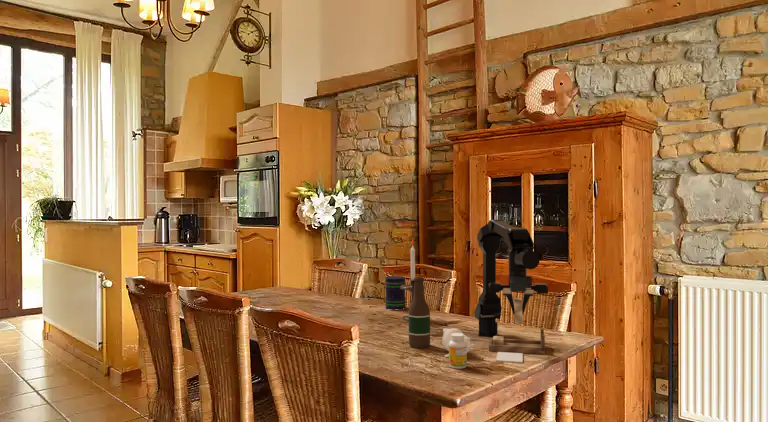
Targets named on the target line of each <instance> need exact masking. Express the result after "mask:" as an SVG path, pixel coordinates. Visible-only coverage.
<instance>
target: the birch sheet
mask: <svg viewBox="0 0 768 422" xmlns="http://www.w3.org/2000/svg"><path fill="white" fill-rule="evenodd" d="M513 302H514V309H515V314H514V324H516V325H518V324H519V325H523V324H524V323H523V315H522V304H523V297H522V298H520V297H518V298H517V297H513Z"/></svg>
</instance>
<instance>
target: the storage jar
mask: <svg viewBox="0 0 768 422" xmlns="http://www.w3.org/2000/svg"><path fill="white" fill-rule="evenodd" d="M384 279H385V280H384V289H385V298H384V303H385V308H386V309H385V310H387V309H403V308H406V305H407V304H406V302H407V301H406V300H407V298H406V290H403V289H401V288H400V286H401V285H407V283H406V277H405V276H402V275H401V276H400V275H398V276H397V275H391V276H390V275H389V276H385V278H384Z"/></svg>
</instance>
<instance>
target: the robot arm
mask: <svg viewBox="0 0 768 422" xmlns="http://www.w3.org/2000/svg"><path fill="white" fill-rule="evenodd" d="M503 238H504V239H503ZM476 239H477V243H478V248H479V249H480V250H481V252H482V291H481V293H480V295H479V296H478V300H477V301H478V302H477V304H476V307H475V309H474V318H475V319H477V320H478V334H477V335H478V336H481V337H494V336H497V334H498V331H499V329H498V328H499V327H498V326H499V325H498V324H499V323H498V321H497V320H498V319H499V320H500V319H501V314H502V307H503V306H502V304H501V301H502V300H501V297H499V295H498V294H499V293H500V292H501V291H502V296H506V299H507V300H508V303H509V304H510V308H511V312H512V314H513V315H515V308H514V297H513V293H515V292H521V293H523V296H522V316H523V315H524V314H525V310H526V307H527V304H528V302H529V300H530V297H533V296H534V292H536V293H537V294H540V295H541V294H543V295H546V294H549V285H548V284H547V283H546V282H534V284H533V276H530V275H529V276H528V275H527V274H528V273H527V270H534V269H536V268H537V267H538V266H539V264H540V257H539V255H538V253H537V252H536V251H534V250H535V242H534V241H533V239H532V236H531V234H530V232H529V230H528V229H527V228H525V227H514V226H513V225H510V224H509V223H507V222H505V221H504V219H503V220H502V219H490V220H488V221H487V223H486V224H485V225H483V226H482V227H481V228H480V229H479V231H478V233H477V236H476ZM502 240H503V241H504V243H505V244H506V246H507V247H508V248H507V249H506V252H507V253H508V254H507V255H508V284H502V282H498V281H496V280H497V279H496V278H497V275H496V274H497V272H496V271H497V270H496V269H497V268H496V267H497V265H496V264H497V260H496V258H497V257H496V256H497V255H496V254H497V253H498V251H499V249H500V248H501V242H502Z"/></svg>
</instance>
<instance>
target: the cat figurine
mask: <svg viewBox="0 0 768 422" xmlns="http://www.w3.org/2000/svg"><path fill="white" fill-rule="evenodd" d="M442 333H443V334H442V337H441V343H442V346H443V348H444V349H445V350H446V351H448V352H449V342H450V341H452V339H451V334H453V333H462V334H464V333H463V331H462V330H461V329H459V328H456V327H455V328H443V329H442ZM464 341H465V342H466V344H467V353H469V351H470V349H471V348H473V347H474V346H475V344H474V343H471V337H469V336H467V335H465V334H464ZM444 358H449V353H448V354H445V355H444Z"/></svg>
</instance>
